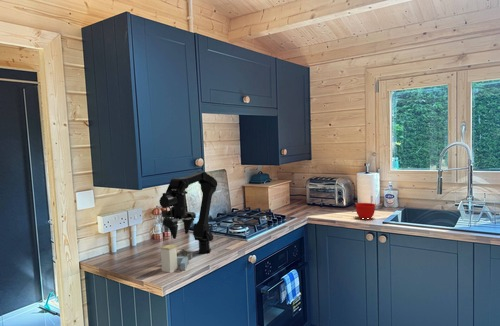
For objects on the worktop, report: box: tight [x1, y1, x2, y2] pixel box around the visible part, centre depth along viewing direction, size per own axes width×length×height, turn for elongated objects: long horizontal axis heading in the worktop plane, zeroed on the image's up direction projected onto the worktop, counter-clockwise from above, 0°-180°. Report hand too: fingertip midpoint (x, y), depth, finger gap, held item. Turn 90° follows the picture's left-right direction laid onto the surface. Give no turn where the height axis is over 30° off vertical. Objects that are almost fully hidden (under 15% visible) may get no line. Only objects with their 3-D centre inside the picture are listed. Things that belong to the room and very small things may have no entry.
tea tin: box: [159, 243, 178, 273], centre depth 164 cm, size 5×5×11 cm
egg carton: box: [177, 248, 194, 260], centre depth 177 cm, size 11×8×4 cm
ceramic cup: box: [355, 202, 376, 220], centre depth 253 cm, size 13×17×10 cm
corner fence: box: [177, 256, 189, 272], centre depth 167 cm, size 10×12×4 cm
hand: (180, 236), depth 172 cm, fingers open, 9 cm apart
